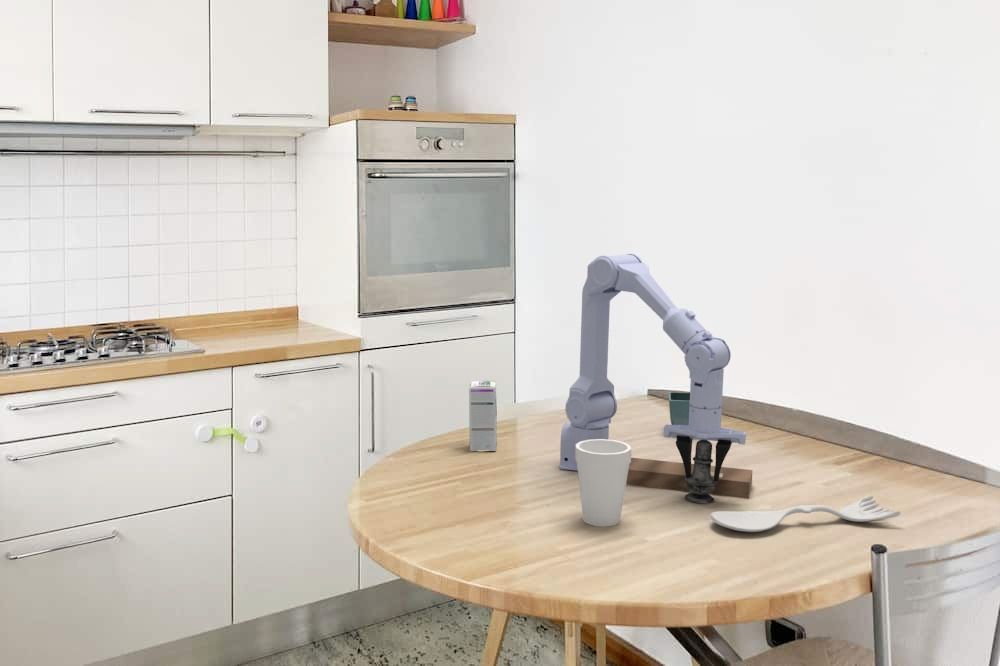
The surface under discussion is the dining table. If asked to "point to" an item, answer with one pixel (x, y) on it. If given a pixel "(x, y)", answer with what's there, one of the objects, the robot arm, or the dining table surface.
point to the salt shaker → (701, 475)
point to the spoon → (769, 519)
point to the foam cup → (602, 479)
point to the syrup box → (483, 415)
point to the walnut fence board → (674, 476)
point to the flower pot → (679, 408)
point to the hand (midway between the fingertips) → (702, 478)
